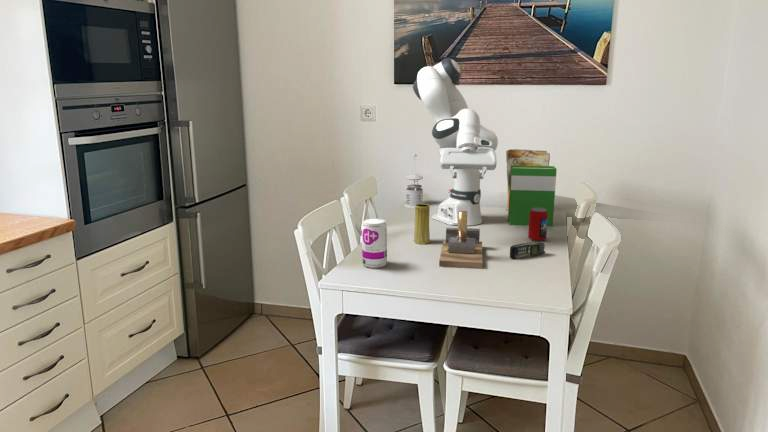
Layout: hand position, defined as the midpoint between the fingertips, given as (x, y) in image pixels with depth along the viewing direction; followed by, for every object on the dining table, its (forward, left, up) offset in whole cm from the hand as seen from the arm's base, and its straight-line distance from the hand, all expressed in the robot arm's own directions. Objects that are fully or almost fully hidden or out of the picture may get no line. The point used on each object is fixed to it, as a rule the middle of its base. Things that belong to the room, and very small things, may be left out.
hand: (467, 177), depth 206 cm
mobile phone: (+22, +8, -26) cm, 35 cm away
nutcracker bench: (+7, -11, -25) cm, 29 cm away
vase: (-15, -8, -26) cm, 31 cm away
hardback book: (-4, +45, -26) cm, 52 cm away
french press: (-60, +32, -26) cm, 73 cm away
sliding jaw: (+7, -10, -23) cm, 26 cm away
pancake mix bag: (-19, +62, -26) cm, 69 cm away
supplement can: (-7, -38, -26) cm, 47 cm away
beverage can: (+12, +27, -26) cm, 39 cm away
